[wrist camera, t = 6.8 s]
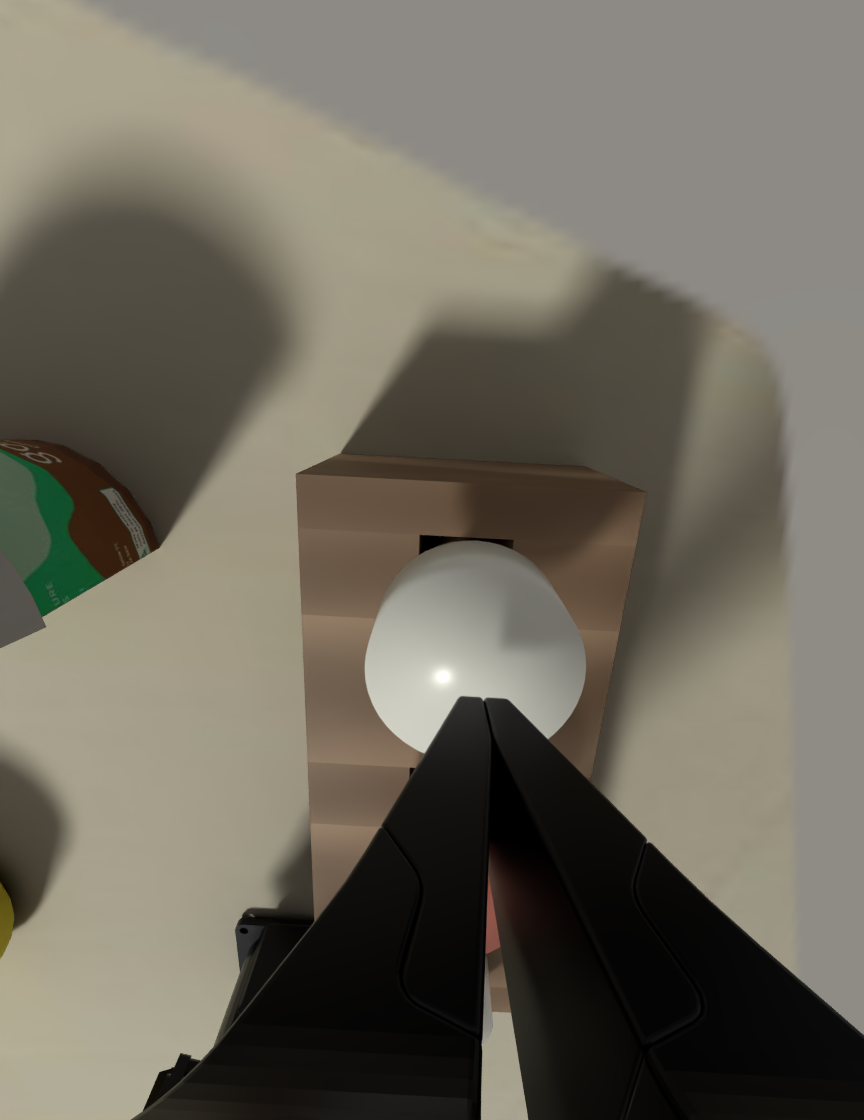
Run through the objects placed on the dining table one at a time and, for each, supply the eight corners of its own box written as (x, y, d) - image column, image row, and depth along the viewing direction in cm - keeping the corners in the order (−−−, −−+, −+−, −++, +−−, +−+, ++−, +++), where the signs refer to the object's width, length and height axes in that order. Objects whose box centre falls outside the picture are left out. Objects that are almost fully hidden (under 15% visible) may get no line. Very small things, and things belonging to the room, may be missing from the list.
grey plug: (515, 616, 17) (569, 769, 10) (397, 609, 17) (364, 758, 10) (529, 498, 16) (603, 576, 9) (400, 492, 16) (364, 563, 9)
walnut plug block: (522, 882, 26) (545, 1014, 20) (344, 872, 26) (317, 1001, 21) (585, 466, 19) (646, 492, 13) (339, 453, 19) (295, 473, 13)
